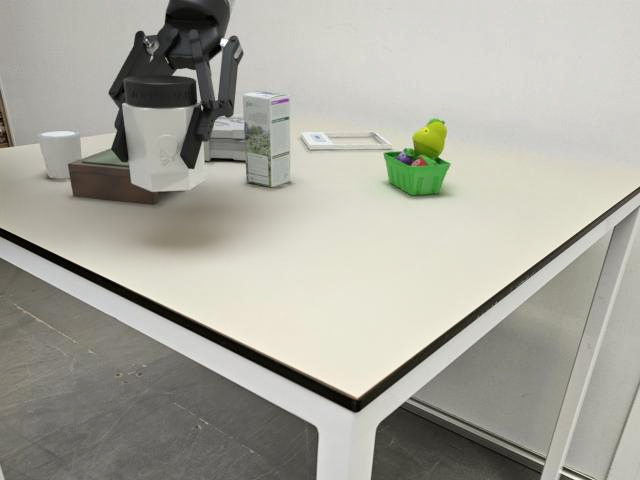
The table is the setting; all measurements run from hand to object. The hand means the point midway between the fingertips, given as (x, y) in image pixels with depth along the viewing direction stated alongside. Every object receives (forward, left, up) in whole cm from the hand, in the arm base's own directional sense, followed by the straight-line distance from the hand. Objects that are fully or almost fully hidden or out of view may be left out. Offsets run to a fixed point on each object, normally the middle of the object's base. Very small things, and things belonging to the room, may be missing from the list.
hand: (152, 159), depth 70 cm
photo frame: (+7, +72, -11) cm, 74 cm away
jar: (0, +3, -4) cm, 5 cm away
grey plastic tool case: (-20, +52, -11) cm, 57 cm away
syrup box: (+2, +34, -11) cm, 36 cm away
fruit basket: (+27, +39, -11) cm, 49 cm away
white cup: (-33, +27, -11) cm, 44 cm away
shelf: (-17, +23, -11) cm, 31 cm away
